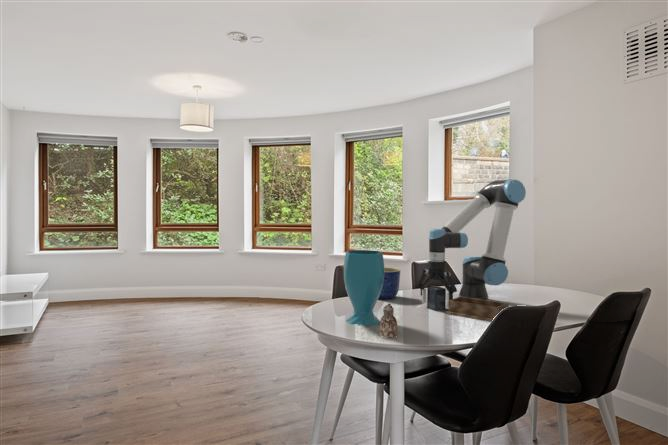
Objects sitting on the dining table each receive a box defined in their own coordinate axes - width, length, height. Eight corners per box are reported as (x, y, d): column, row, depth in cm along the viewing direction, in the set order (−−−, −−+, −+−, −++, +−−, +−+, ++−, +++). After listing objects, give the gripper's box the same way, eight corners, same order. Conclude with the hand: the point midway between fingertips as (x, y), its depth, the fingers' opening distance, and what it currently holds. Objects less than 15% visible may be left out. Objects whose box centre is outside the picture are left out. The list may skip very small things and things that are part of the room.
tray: (444, 313, 209) (445, 300, 208) (459, 307, 221) (459, 295, 221) (498, 322, 193) (498, 309, 192) (511, 316, 205) (511, 302, 205)
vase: (372, 328, 182) (372, 255, 181) (335, 322, 191) (336, 252, 190) (389, 319, 197) (390, 251, 196) (355, 314, 206) (356, 249, 205)
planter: (405, 296, 247) (405, 268, 246) (391, 302, 233) (392, 272, 232) (377, 293, 256) (377, 266, 256) (363, 298, 242) (363, 270, 241)
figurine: (376, 337, 171) (377, 305, 170) (381, 332, 178) (382, 302, 177) (395, 339, 168) (395, 307, 168) (399, 334, 175) (399, 303, 175)
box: (445, 310, 215) (446, 288, 215) (435, 311, 213) (435, 289, 213) (436, 306, 223) (436, 285, 222) (426, 307, 221) (427, 286, 220)
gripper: (410, 259, 222) (409, 301, 223) (457, 263, 206) (456, 309, 207) (418, 257, 228) (417, 299, 229) (464, 262, 212) (463, 306, 213)
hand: (436, 304), depth 218 cm, fingers open, 13 cm apart
